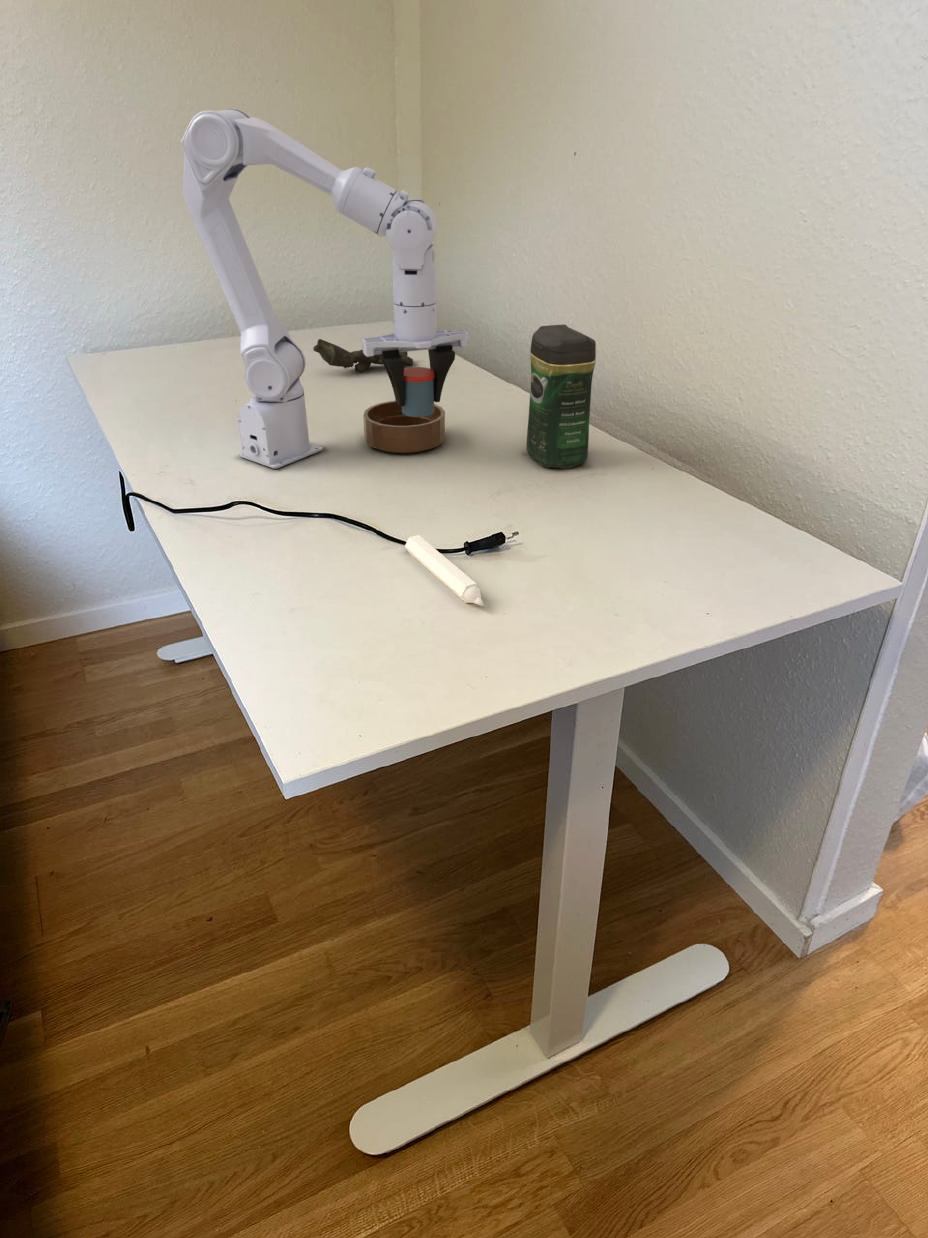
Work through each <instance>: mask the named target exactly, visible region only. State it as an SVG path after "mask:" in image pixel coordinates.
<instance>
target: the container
mask: <svg viewBox="0 0 928 1238" xmlns="http://www.w3.org/2000/svg"><path fill="white" fill-rule="evenodd" d="M434 377H435V372H434V370H432V369H430V367H424V366H412V367H405V368H404V377H403V387H404V398H405V402H404V406H402V413H403V414H404V415H406V416H410V417H425V416H429V415H432V414H433V413H434V404H435V402H434Z"/></svg>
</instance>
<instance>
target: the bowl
mask: <svg viewBox="0 0 928 1238" xmlns="http://www.w3.org/2000/svg"><path fill="white" fill-rule="evenodd" d="M362 416H363V432H364V440H365V441H366V442H365V443H366V444H367V445H368V446H370V447H372V448H373V449H376V450H380V451H383V452H386V453H392V454H416V453H421V452H425V451H428V450H431V449H433V448H436V447H438V446H441V445H442V443H444V442H445V440H446V411H445V409H444V408H443V407H442V406H440V405H438V404H436V403H434V413H433V414H432V415H429V416H425V417H410V416H406V415H404V414H403V413H402V406H399V405H398V404H397V403H396V401H395V400H390V401H384V402H380V403H376V404H374V405H370V406H369V407H368V408H366V409H365V410H364V411H363V415H362Z"/></svg>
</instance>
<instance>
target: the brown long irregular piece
mask: <svg viewBox="0 0 928 1238" xmlns="http://www.w3.org/2000/svg"><path fill="white" fill-rule="evenodd" d="M312 348H313V351H314V352H316V353H318V354H319V356H321V358H322V360H323V361H324V362H325V363H327V364H328V365H329V366H332V367H340V368H344V369H349V368H353V367H354V371H355V372H357V373H362V372H365V370H368V369H369V368H371V366H372V364H374V365H383V363H382V361H381V359H380V357H379V355H378V354H375V355H374V356H369V357H367V356H366V355H364V353H363V349H359V350H353V351H351V352H350V351H349V350H347V349H345V348H342V347H341V346H339V345H336V344H334V343H331V342H329V341H326V340H324V339H321V338H319V339H317V343H316V345H314V346H313V347H312ZM399 354H400V355H401V359H402V360H403V361H404V362H405V364H404V365H407V366H413V365H414V359H413V358H412V357H410V356H409V355H408V351H407V352H399Z"/></svg>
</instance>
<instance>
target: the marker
mask: <svg viewBox="0 0 928 1238" xmlns="http://www.w3.org/2000/svg"><path fill="white" fill-rule="evenodd" d="M404 547H405V549H406V551H407V552H408V554H410V556H412V557H413V558H415V560H416V561H418V562H419V563H420V564H421V565H422V566H423V567H425V569H426V570H428V571H429V572H430V573H431V574H433V576H434V577H436V578H437V579H438V580H439V581H440V582H441V583H442V584H444V585H445V586H446V587H447V588H448V589H449V590H450V591H451V592H453V593H454V594H455V595H456V596H457V597H458V598H459V599H460V600H462V602H464V603H465V604H469V603H471V604H475V605H478V606H480V607H484V608H485V604H484V602H483V600H482V596H481V592H482V590H481V588H480V587H479V585H478V584H477V582H475V581H474V580H473V579H472V578H471V577H469V576H468V575H467V574H466V573H465V572H463V571H462V570H461V569H460V568H459V567H457V566H456V565H455V564H454V563H452V561H450V560H449V559H448V558H447V557H445V556H444V555H443V554H442V553H441V552H439V551H438V550H437V549H436V548H435V547H434V546H432V545H431V544H430V543H429V542H428V541H426V540H425V539H424V538H423V537H422V536H421V535H420V534H415V535H411V536H409V537H408V539H407V541H406V543H405V544H404Z"/></svg>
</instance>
